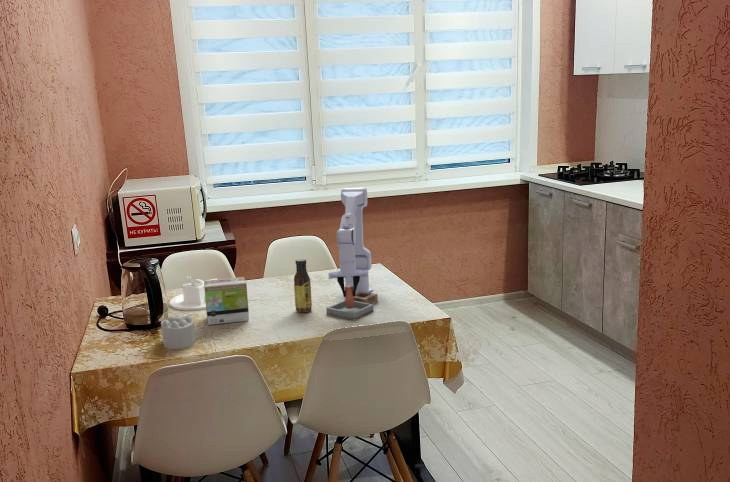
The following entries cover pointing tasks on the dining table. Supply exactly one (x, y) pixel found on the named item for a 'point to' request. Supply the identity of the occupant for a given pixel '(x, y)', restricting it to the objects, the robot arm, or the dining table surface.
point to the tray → (350, 310)
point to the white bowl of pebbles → (178, 332)
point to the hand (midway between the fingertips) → (349, 296)
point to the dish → (191, 296)
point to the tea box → (226, 300)
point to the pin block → (366, 297)
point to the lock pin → (349, 297)
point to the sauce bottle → (302, 287)
